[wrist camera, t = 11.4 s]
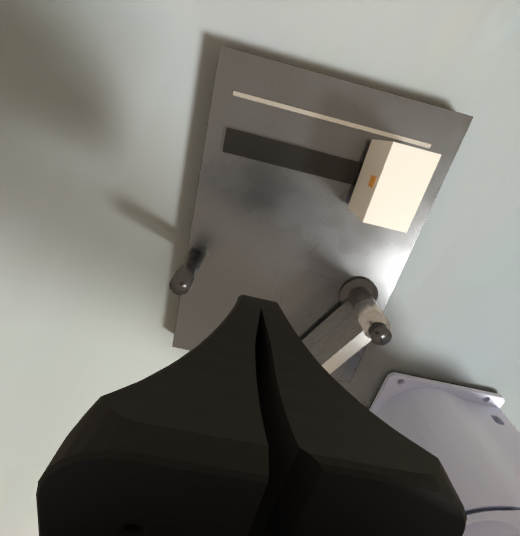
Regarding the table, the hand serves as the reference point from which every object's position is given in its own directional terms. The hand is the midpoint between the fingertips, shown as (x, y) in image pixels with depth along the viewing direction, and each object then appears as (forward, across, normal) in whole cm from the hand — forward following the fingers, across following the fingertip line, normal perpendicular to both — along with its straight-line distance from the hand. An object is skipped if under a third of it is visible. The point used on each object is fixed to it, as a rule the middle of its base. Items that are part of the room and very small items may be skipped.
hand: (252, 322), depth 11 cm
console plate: (+10, -2, 0) cm, 10 cm away
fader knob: (+8, -5, -5) cm, 11 cm away
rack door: (+8, -5, +6) cm, 11 cm away
